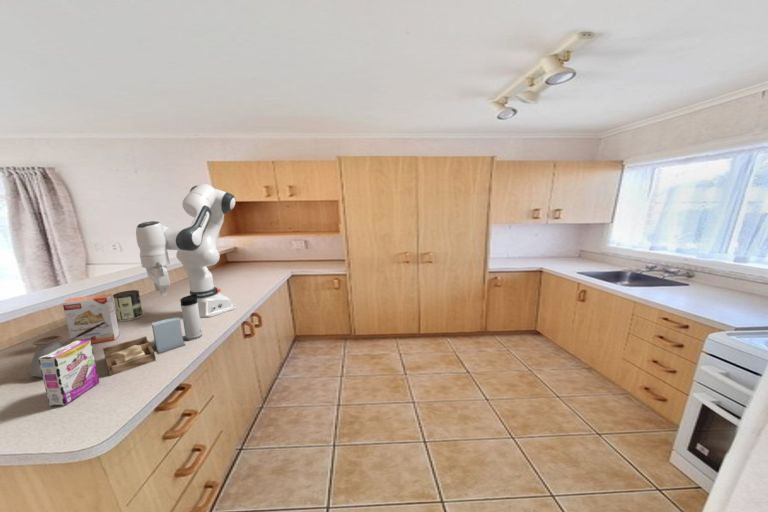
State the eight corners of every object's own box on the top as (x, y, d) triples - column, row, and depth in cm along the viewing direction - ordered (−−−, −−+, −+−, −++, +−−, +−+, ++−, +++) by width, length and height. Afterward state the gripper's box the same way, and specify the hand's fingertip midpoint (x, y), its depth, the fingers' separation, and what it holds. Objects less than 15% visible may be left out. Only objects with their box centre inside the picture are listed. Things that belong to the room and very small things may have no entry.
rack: (147, 346, 117) (146, 336, 116) (155, 360, 107) (153, 348, 106) (105, 359, 107) (103, 348, 106) (109, 375, 97) (107, 363, 96)
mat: (179, 338, 124) (179, 337, 124) (185, 345, 118) (185, 344, 118) (154, 345, 118) (154, 344, 118) (159, 353, 111) (159, 352, 111)
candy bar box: (66, 406, 82) (54, 357, 79) (49, 407, 82) (36, 358, 79) (101, 382, 93) (91, 339, 90) (85, 383, 93) (75, 339, 90)
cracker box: (71, 348, 116) (60, 302, 112) (79, 341, 121) (69, 297, 117) (115, 340, 122) (106, 297, 118) (120, 335, 127) (112, 293, 123)
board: (180, 338, 122) (177, 316, 120) (183, 341, 120) (179, 318, 118) (155, 346, 116) (151, 323, 114) (157, 349, 113) (153, 325, 111)
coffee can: (139, 312, 154) (135, 288, 152) (146, 316, 149) (141, 292, 146) (115, 318, 146) (110, 293, 143) (121, 323, 140) (116, 297, 138)
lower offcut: (143, 358, 108) (142, 350, 108) (146, 361, 106) (144, 353, 105) (116, 367, 102) (114, 359, 102) (118, 371, 100) (116, 363, 99)
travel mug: (205, 335, 127) (200, 295, 123) (191, 341, 121) (185, 299, 118) (197, 332, 130) (192, 293, 126) (182, 338, 124) (176, 297, 120)
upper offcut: (135, 351, 107) (134, 345, 106) (142, 352, 106) (141, 345, 106) (118, 360, 101) (117, 353, 100) (125, 361, 100) (124, 353, 100)
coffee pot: (26, 385, 92) (14, 345, 89) (34, 370, 100) (24, 333, 97) (113, 361, 106) (106, 325, 103) (114, 349, 114) (107, 317, 111)
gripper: (171, 263, 106) (177, 296, 109) (159, 256, 119) (165, 286, 122) (150, 266, 102) (157, 300, 104) (141, 259, 115) (147, 289, 117)
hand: (161, 293), depth 113 cm, fingers open, 8 cm apart
